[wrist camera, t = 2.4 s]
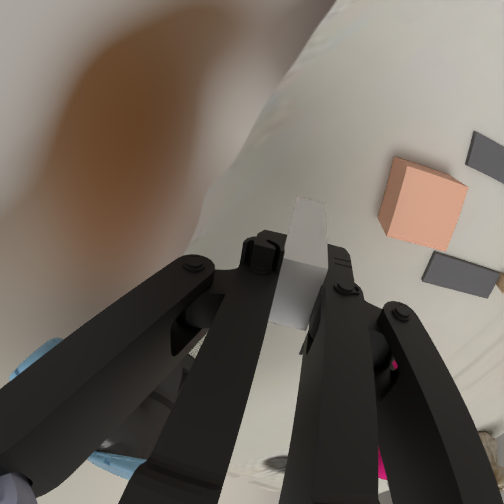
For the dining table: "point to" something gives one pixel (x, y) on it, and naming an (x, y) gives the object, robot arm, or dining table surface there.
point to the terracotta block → (421, 205)
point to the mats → (456, 270)
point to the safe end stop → (501, 282)
